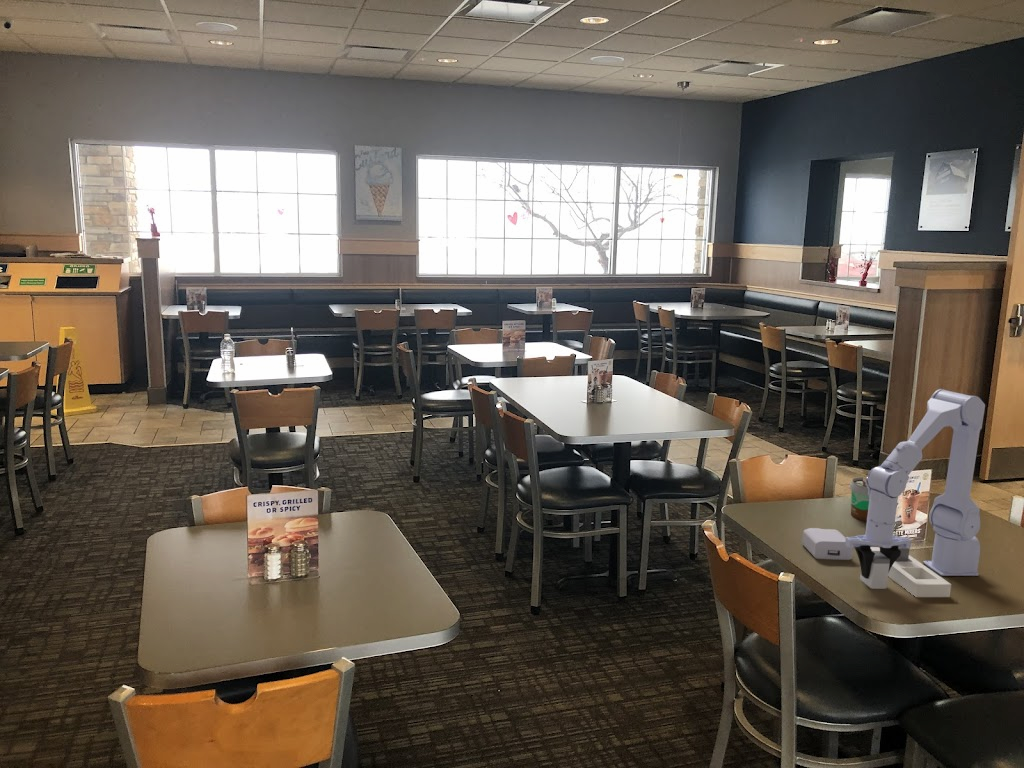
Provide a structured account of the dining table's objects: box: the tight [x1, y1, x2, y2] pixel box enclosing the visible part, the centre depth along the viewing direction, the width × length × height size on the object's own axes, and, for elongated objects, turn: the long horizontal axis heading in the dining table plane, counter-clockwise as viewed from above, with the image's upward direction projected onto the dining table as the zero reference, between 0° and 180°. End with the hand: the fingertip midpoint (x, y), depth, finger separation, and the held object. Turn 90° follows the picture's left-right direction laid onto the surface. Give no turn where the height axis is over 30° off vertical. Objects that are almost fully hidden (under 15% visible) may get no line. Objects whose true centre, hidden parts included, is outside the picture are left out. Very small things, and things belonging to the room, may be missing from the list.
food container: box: [849, 476, 870, 523], centre depth 234 cm, size 12×6×10 cm, turn 6°
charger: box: [801, 527, 854, 561], centre depth 210 cm, size 5×9×15 cm
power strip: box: [870, 547, 952, 598], centre depth 194 cm, size 8×22×4 cm, turn 5°
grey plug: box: [859, 551, 890, 590], centre depth 188 cm, size 4×5×7 cm
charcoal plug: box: [895, 547, 911, 562], centre depth 198 cm, size 4×5×7 cm
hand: (873, 576), depth 189 cm, fingers closed on grey plug, 4 cm apart
